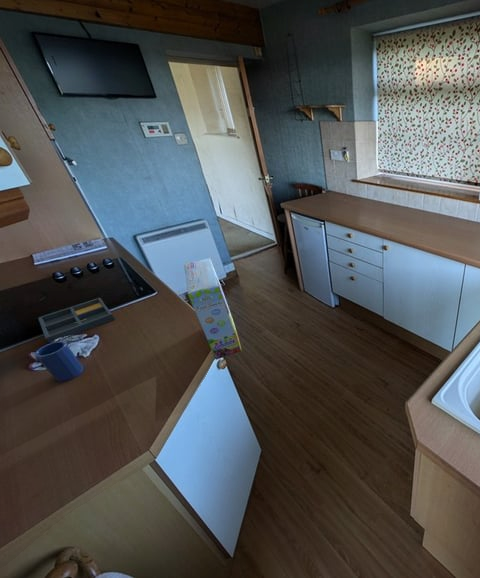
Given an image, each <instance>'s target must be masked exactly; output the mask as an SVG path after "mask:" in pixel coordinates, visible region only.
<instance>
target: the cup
mask: <svg viewBox="0 0 480 578" xmlns="http://www.w3.org/2000/svg"><path fill="white" fill-rule="evenodd" d="M34 356H35V357H36V358H37V359H38V361H39V362H40V363H41V365H42V366H43V367H44V368H45V369H46V370H47V371H48V373H49V374H50V375H51V376H52V377H53V379H54V380H55V381H56V382H59V383H60V382H67V381H70V380H73V379H75V378H77V377H78V376H79V375H81V374H82V373H83V372H84V370H85V367H84V365H83V364H82V363H81V361H80V360H79V358H78V357H77V356H76V354H75V352H74V351H73V350H72V349H71V347H70V346H69V345H68V343H67V342H66V341H63V340H60V341H57V342H53V343H50V344H49V343H48V344H45V345H44V346H41V347H40V348H38V349H37V350H36V352H35V353H34Z"/></svg>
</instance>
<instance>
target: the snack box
mask: <svg viewBox="0 0 480 578" xmlns="http://www.w3.org/2000/svg"><path fill="white" fill-rule="evenodd" d="M183 267H184V273H185V281H186V287H187V296H188V298H189V300H190V303H191V305H192V308H193V309H194V313H195V315H196V317H197V319H198V322H199V324H200V326H201V329H202V330H203V332H204V336H205V338H206V340H207V343H208V345H209V348H210V350H211V353H212V355H213V357H214V359H215V360H220V359H222V358H226V357H228V356H231V355H234V354H236V353H240V352H242V351H243V350H242V347H241V343H240V339H239V335H238V332H237V329H236V325H235V321H234V319H233V315H232V313H231V310H230V307H229V305H228V301H227V299H226V296H225V292H224V291H223V287H222V285H221V283H220V280H219V277H218V274H217V272H216V270H215V266H214V264H213V261H212V258H211V257H208V258H205V259H200V260H193V261H187V262H185V263H183Z"/></svg>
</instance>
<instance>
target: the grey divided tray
mask: <svg viewBox="0 0 480 578" xmlns="http://www.w3.org/2000/svg"><path fill="white" fill-rule="evenodd" d="M84 318H87V319H86V320H83V321H80V320H81V319H84ZM37 319H38V321H39V325H40V327H41V330H42V333H43V336H44V339H45V340H46V341H47V342H48V344H49V343H51V342H52V341H54V340H55V339H57V338H59V337H64V336H68V335H73V334H76V335H78V334H81V333H83V332H86V331H88V330H89V331H90V330H92V329H94V328H96V327H100V326H102V325H104V324H107V323H111V322H113V321H115V320H116V318H115V317H114V315H113V314H112V312H111V311H110V309H109V308H108V307H107V305H106V304H105V302H104V301H103V299H102V298H101V297H97V298H94V299H91V300H88V301H85V302H82V303H79V304H78V303H77V304H75V305H72V306H69V307H66V308H64V309H60V310H57V311H53V312H51V313H47V314H44V315H42V316H39V317H37ZM76 321H77V323H74V322H76ZM73 336H74V335H73Z"/></svg>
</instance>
